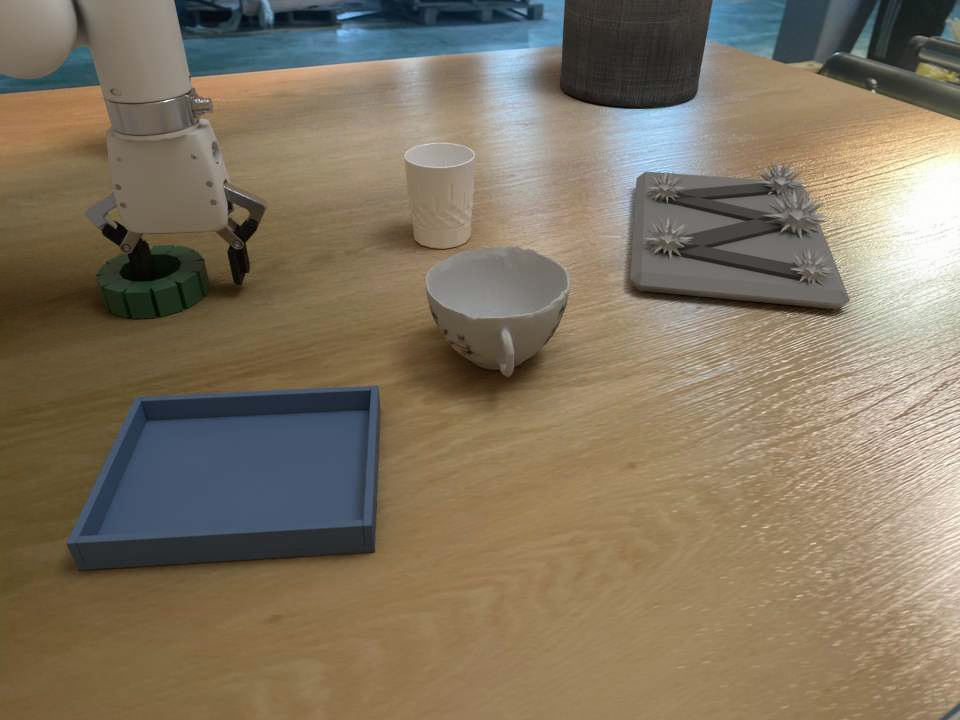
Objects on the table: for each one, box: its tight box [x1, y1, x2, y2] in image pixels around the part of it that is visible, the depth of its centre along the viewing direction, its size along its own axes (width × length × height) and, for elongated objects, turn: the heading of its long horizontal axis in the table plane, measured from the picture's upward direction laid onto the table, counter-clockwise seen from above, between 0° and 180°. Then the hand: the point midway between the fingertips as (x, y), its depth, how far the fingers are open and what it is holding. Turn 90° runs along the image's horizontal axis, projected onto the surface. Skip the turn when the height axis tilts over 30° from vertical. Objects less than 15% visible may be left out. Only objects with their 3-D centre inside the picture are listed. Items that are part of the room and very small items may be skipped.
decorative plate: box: [629, 160, 851, 310], centre depth 87 cm, size 30×22×7 cm
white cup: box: [403, 142, 476, 250], centre depth 87 cm, size 8×8×10 cm
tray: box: [66, 385, 382, 571], centre depth 56 cm, size 19×15×3 cm
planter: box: [559, 0, 714, 108], centre depth 135 cm, size 25×25×22 cm
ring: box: [95, 244, 211, 320], centre depth 78 cm, size 10×10×3 cm
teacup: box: [424, 245, 571, 378], centre depth 67 cm, size 15×12×8 cm
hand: (195, 280), depth 79 cm, fingers open, 8 cm apart
